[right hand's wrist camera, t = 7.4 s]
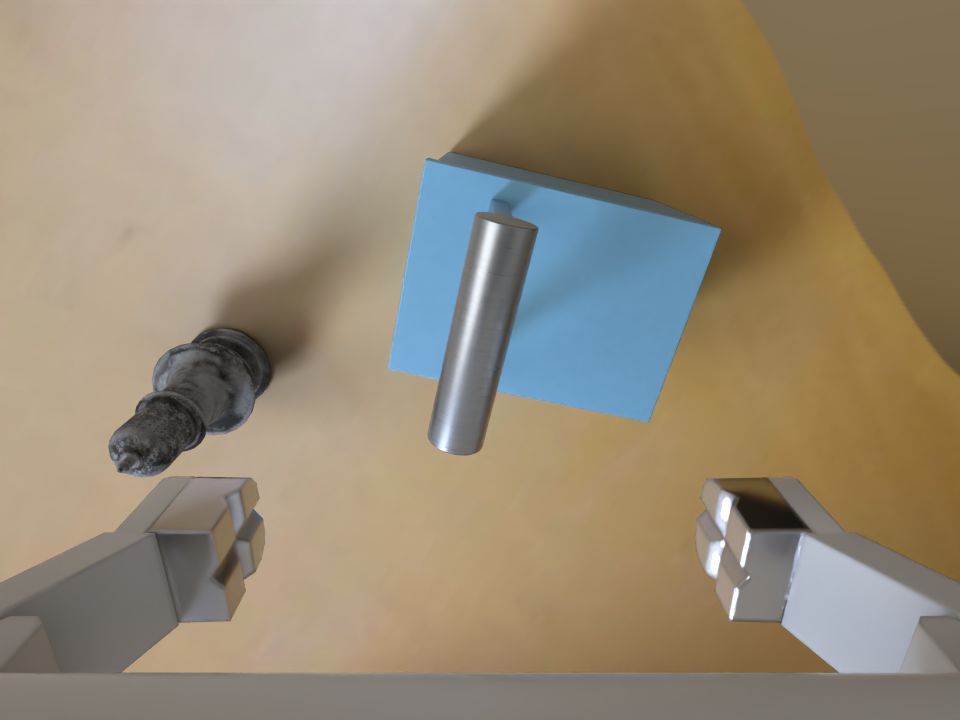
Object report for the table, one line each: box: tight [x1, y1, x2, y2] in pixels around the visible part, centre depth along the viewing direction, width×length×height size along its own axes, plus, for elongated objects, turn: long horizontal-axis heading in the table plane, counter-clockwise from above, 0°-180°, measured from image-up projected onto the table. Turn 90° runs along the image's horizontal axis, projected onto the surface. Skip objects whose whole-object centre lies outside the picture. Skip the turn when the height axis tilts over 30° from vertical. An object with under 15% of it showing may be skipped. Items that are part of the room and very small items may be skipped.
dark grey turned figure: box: [109, 328, 270, 477], centre depth 31 cm, size 6×6×12 cm
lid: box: [388, 158, 721, 455], centre depth 22 cm, size 12×9×8 cm
